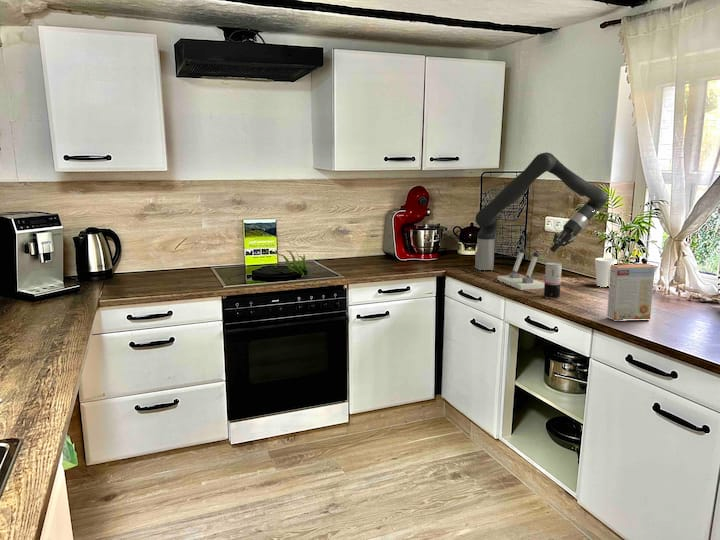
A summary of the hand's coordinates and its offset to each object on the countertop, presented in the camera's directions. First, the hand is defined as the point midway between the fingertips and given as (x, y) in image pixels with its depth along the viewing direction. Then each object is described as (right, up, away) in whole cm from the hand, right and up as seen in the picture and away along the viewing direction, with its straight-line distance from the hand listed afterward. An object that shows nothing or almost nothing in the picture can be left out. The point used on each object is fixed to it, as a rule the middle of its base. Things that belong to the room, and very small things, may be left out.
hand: (551, 250), depth 259 cm
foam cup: (+24, -17, -1) cm, 30 cm away
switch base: (-13, -16, +6) cm, 21 cm away
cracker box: (+10, -28, -54) cm, 62 cm away
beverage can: (-7, -21, -20) cm, 30 cm away
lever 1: (-15, -10, +11) cm, 21 cm away
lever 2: (-12, -12, -1) cm, 17 cm away
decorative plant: (-131, -11, +35) cm, 136 cm away
